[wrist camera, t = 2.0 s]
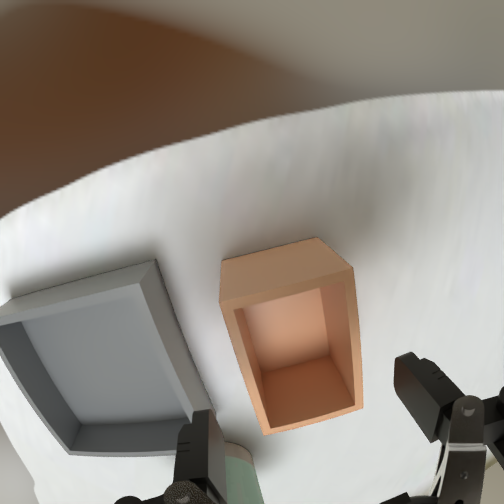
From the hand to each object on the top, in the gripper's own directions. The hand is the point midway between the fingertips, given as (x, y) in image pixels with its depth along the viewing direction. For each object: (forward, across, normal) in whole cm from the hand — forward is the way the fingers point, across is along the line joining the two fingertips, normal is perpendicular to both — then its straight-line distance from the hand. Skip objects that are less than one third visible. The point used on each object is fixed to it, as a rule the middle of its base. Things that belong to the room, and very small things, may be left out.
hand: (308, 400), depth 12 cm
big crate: (+9, +13, +2) cm, 16 cm away
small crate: (+9, 0, 0) cm, 9 cm away
